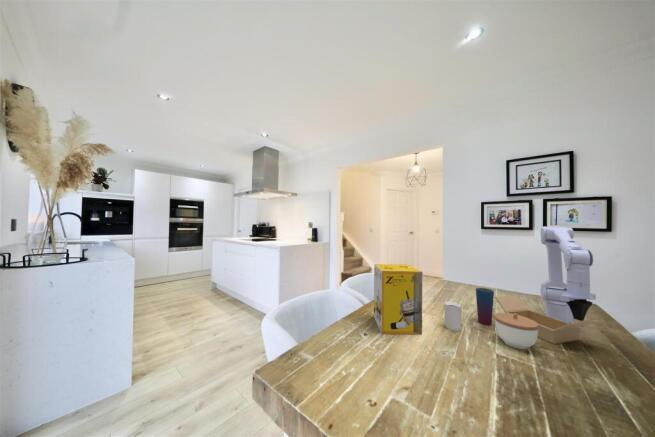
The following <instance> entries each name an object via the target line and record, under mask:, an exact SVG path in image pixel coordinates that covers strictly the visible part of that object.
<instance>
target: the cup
mask: <svg viewBox="0 0 655 437" xmlns="http://www.w3.org/2000/svg"><path fill="white" fill-rule="evenodd" d="M494 294H495V290H494V289H491V288H487V287H481V286H480V287H475V298H476V300H475V301H476V310H477V322H478V323H479V324H480V325H484V326H491V325H492V322H493V311H494V299H495V295H494Z"/></svg>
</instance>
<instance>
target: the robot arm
mask: <svg viewBox="0 0 655 437" xmlns="http://www.w3.org/2000/svg"><path fill="white" fill-rule="evenodd" d="M574 235H575V233H574V229H573V228H572V227H571V226H545V225H544V226H542V227H541V228H540V242H541V245H545V246H546V253H547V268H548V269H547V270H548V279H547V280H545V281H544V282H542V283H541V285H540V292H539V293H540V298H541V299H542V300H543V301H545V304H544V305H545V316H548V317H551V318H554V319H557V320H560V321H563V322H566V323H570V322H574V320H576V321H585V317H586V315H587V314H588V313H587V312H588V310H589V309H590V307H592V305H593V300H596V297H597V295H596V294H597V293H596V294H595V293H592V292H591V280H590V279H591V272H590V271H591V267H592V266H593V264H594V255H593V253H592V251H591V250H590V249H584V248H583V246H582V245H581V244H580V243H579V242H578V241H577V240H575V239H574ZM562 254H563V256H562ZM562 257H563V259H562ZM562 260H563V261H562ZM563 262H564V268H565V270H566V283H565V282H564V275H563ZM590 300H591V301H590Z"/></svg>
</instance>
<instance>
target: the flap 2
mask: <svg viewBox="0 0 655 437" xmlns="http://www.w3.org/2000/svg"><path fill="white" fill-rule="evenodd" d="M598 321H599V320H598V318H597V319H596V318H595V319H589V320H588V319H587V320H583V321H579V320H577V321H573V322H570V323H568V324H566V325H563V326H561V327H559V328H556V329H554V331H559V330H567V329H575V328H580V329H581V328H583V327H586V326H588V325H589V326H590V325H591V324H593V323H596V322H598Z"/></svg>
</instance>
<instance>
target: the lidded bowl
mask: <svg viewBox="0 0 655 437" xmlns="http://www.w3.org/2000/svg"><path fill="white" fill-rule="evenodd" d="M493 318H494V326H495V331H496V333H497V335H498V336H499V337H500V339H502V342H503V343H505V344H506V345H508V346H510V347H512V348H515V349H519V350H528V349H529V348H530V347H532V346H534V344H536V342H537V340H538V328H539V325H538V323H537V322H535V321H534V320H532V319H529V318H527V317H524V316H520V315H517V314H515V313H514V314H510V313H505V312H496V313H495V314H494V316H493Z"/></svg>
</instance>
